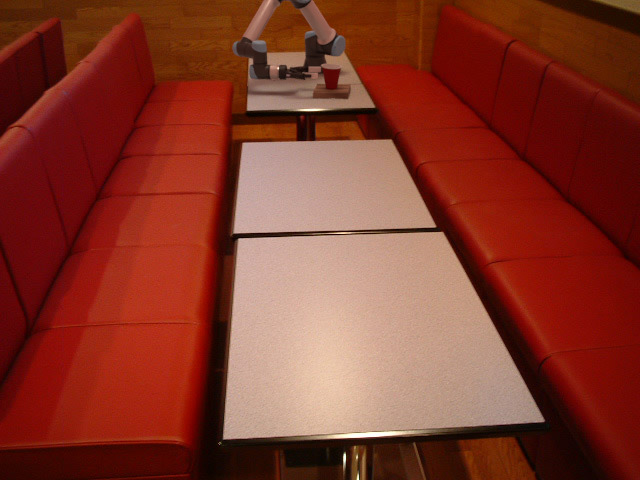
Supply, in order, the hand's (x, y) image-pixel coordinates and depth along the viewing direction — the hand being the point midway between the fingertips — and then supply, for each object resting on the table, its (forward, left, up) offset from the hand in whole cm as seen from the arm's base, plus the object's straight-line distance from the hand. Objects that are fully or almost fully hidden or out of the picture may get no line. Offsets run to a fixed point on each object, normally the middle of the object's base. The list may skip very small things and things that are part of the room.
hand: (319, 72), depth 330 cm
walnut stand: (0, +7, -11) cm, 13 cm away
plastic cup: (0, +6, -8) cm, 10 cm away
